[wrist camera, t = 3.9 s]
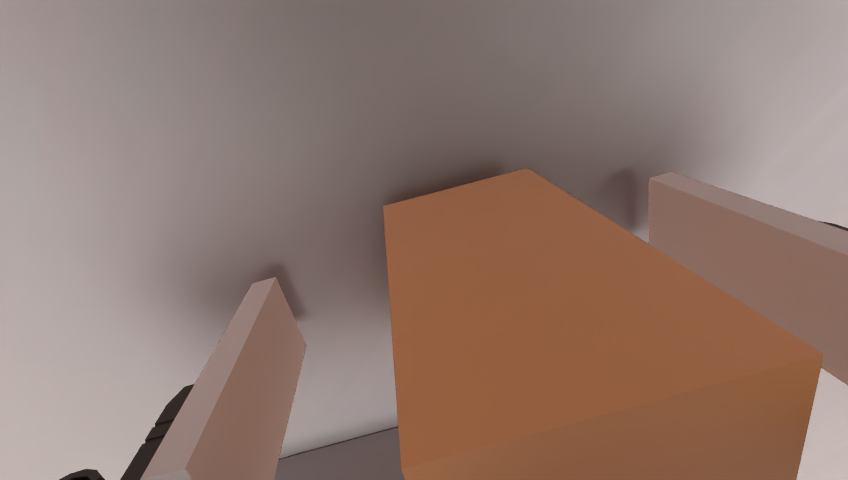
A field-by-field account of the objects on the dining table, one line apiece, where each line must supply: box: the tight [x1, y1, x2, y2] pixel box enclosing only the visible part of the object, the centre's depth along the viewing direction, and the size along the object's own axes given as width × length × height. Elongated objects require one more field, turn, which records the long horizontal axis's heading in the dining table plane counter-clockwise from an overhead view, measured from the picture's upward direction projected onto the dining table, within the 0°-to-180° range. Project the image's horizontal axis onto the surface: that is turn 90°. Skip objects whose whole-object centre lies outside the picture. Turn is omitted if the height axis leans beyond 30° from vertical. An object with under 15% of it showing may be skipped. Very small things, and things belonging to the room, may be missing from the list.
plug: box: [383, 168, 824, 480], centre depth 10 cm, size 5×4×10 cm
